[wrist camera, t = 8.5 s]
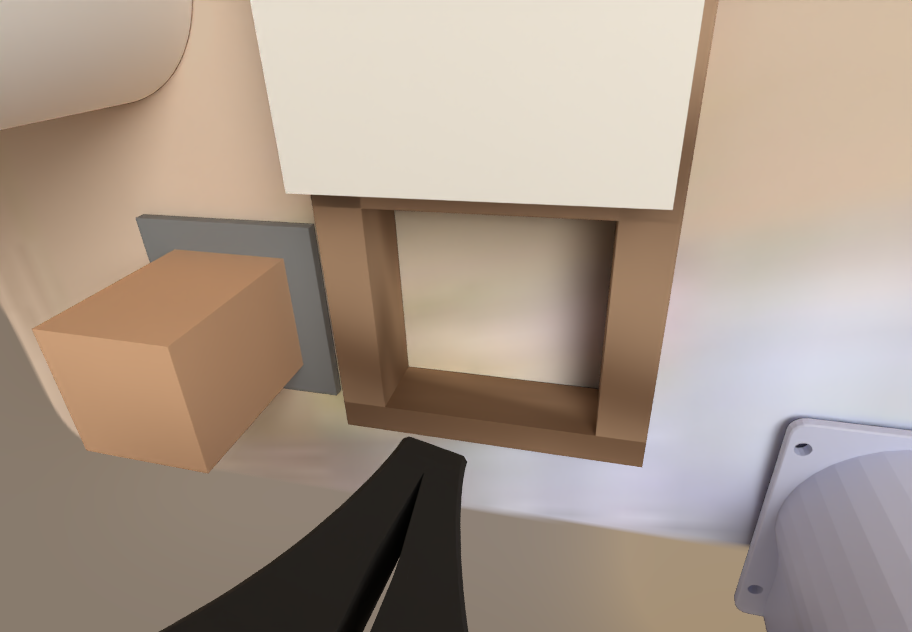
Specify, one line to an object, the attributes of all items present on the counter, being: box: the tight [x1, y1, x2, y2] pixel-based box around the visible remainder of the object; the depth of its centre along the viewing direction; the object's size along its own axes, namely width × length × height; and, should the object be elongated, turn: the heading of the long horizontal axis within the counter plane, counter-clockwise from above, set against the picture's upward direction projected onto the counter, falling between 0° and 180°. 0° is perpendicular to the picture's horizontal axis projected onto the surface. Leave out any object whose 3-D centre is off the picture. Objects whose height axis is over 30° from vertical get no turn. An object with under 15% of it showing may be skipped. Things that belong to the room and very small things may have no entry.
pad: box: [136, 214, 341, 395], centre depth 22 cm, size 7×7×1 cm
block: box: [32, 249, 303, 473], centre depth 19 cm, size 4×4×6 cm
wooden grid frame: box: [311, 0, 719, 467], centre depth 16 cm, size 18×10×2 cm, turn 2°
